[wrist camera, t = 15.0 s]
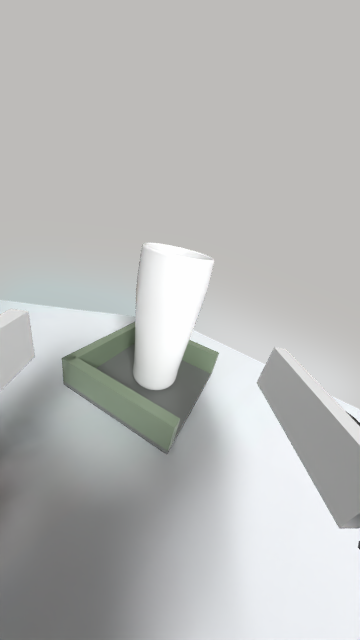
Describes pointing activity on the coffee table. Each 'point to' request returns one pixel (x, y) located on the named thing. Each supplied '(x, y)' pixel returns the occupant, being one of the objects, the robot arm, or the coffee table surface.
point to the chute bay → (138, 386)
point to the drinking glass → (166, 310)
